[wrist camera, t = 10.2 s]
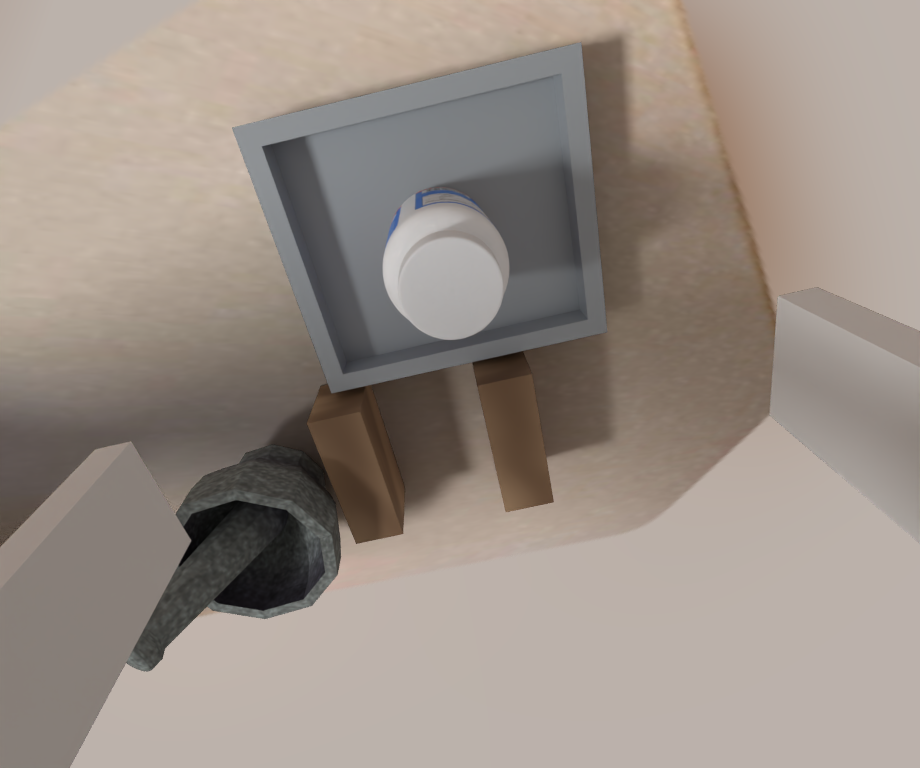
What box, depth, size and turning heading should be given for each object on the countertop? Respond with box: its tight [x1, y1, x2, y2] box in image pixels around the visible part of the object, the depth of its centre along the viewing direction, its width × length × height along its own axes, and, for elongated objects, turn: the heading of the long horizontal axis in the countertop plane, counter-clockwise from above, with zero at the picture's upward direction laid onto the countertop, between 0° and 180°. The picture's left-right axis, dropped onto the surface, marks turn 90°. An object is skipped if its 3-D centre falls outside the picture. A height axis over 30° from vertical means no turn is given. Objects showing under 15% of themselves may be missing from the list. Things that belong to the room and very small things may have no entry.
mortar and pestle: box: [126, 445, 341, 671], centre depth 31 cm, size 11×9×12 cm
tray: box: [232, 42, 607, 393], centre depth 28 cm, size 16×14×2 cm
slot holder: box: [307, 351, 554, 544], centre depth 32 cm, size 12×9×4 cm
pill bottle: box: [383, 187, 509, 340], centre depth 24 cm, size 6×5×10 cm
